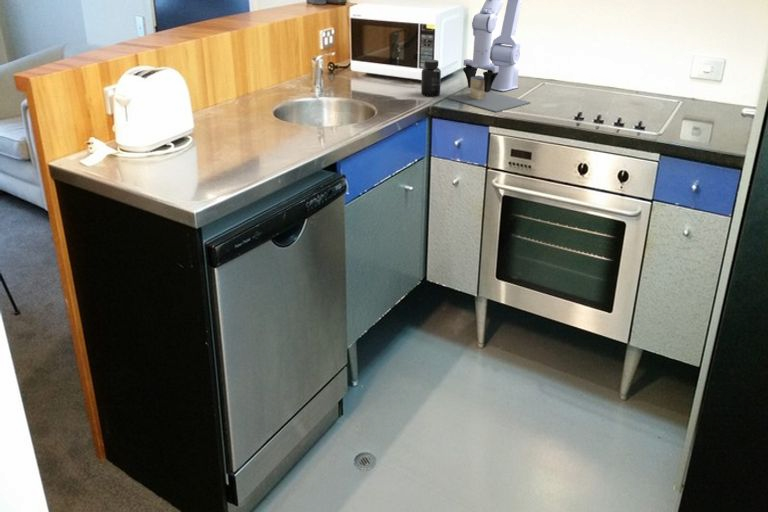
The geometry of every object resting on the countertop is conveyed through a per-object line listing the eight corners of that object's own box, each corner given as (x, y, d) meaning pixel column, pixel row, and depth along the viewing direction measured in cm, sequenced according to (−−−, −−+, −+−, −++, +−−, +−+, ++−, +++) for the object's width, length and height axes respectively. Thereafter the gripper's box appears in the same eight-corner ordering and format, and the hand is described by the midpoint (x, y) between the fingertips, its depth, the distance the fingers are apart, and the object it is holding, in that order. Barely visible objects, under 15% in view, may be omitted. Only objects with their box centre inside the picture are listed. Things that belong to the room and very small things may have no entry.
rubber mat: (482, 90, 261) (482, 89, 261) (530, 103, 246) (530, 102, 246) (448, 98, 250) (448, 97, 250) (496, 112, 236) (496, 111, 235)
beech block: (477, 95, 254) (478, 75, 250) (485, 97, 251) (487, 77, 248) (469, 96, 251) (470, 77, 248) (478, 99, 249) (479, 79, 245)
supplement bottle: (440, 92, 258) (441, 59, 252) (439, 97, 252) (441, 63, 246) (421, 91, 258) (422, 58, 253) (420, 96, 252) (421, 62, 247)
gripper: (458, 48, 246) (456, 87, 253) (490, 55, 237) (486, 95, 243) (472, 45, 250) (469, 84, 257) (504, 52, 241) (500, 92, 247)
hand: (479, 89), depth 250 cm, fingers open, 7 cm apart
